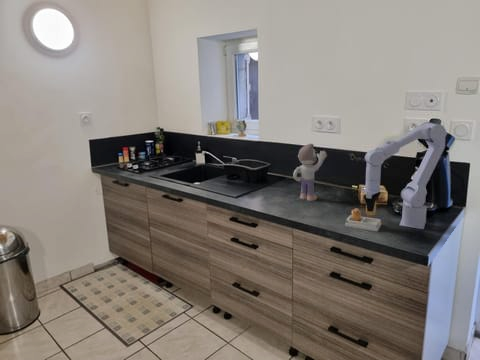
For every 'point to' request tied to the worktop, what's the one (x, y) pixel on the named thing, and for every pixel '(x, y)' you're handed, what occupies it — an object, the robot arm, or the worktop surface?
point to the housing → (362, 221)
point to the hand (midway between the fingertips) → (371, 209)
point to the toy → (308, 170)
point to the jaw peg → (371, 212)
